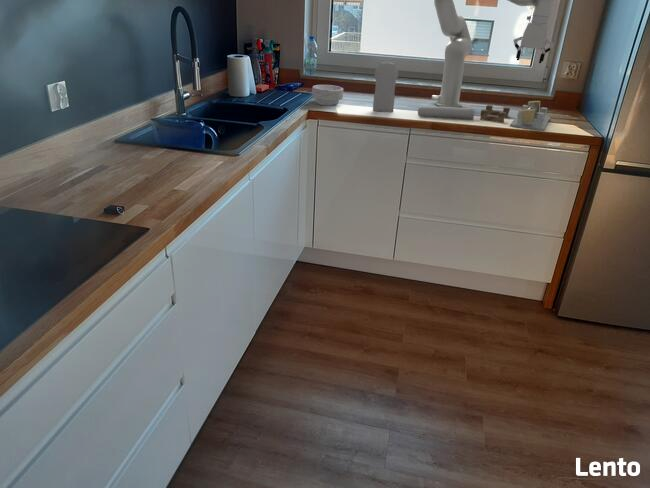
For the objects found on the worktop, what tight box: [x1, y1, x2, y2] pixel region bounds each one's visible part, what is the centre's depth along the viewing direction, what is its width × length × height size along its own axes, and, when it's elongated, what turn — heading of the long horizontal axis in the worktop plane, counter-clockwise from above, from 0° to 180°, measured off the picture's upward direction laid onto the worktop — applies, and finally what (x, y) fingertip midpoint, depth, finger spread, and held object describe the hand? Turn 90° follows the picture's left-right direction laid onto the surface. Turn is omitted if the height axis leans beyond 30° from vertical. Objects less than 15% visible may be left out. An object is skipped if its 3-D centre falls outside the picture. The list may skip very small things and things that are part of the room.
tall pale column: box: [372, 61, 399, 113], centre depth 233 cm, size 11×4×22 cm, turn 94°
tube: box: [417, 105, 475, 121], centre depth 231 cm, size 5×5×25 cm
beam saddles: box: [479, 104, 511, 123], centre depth 234 cm, size 10×15×4 cm
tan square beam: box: [521, 100, 541, 123], centre depth 227 cm, size 5×24×5 cm, turn 153°
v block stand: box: [509, 104, 551, 132], centre depth 227 cm, size 14×26×6 cm, turn 153°
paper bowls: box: [311, 84, 344, 106], centre depth 247 cm, size 15×15×8 cm
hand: (528, 61), depth 229 cm, fingers open, 9 cm apart
